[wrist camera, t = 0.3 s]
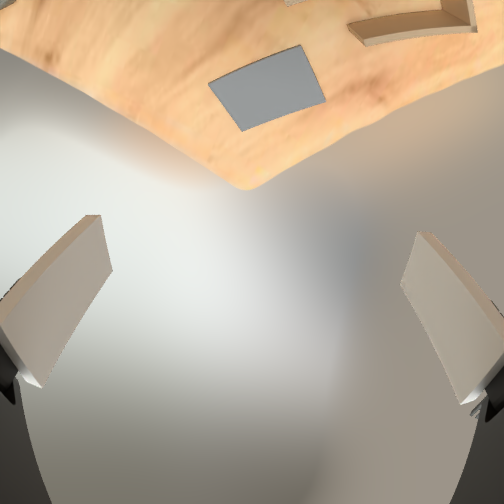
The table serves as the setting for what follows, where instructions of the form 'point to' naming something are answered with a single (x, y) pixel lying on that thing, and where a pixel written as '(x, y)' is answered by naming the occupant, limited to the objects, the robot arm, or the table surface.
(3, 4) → the digital clock
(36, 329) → the robot arm
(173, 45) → the table surface
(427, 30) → the cardboard walls
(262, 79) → the mat
